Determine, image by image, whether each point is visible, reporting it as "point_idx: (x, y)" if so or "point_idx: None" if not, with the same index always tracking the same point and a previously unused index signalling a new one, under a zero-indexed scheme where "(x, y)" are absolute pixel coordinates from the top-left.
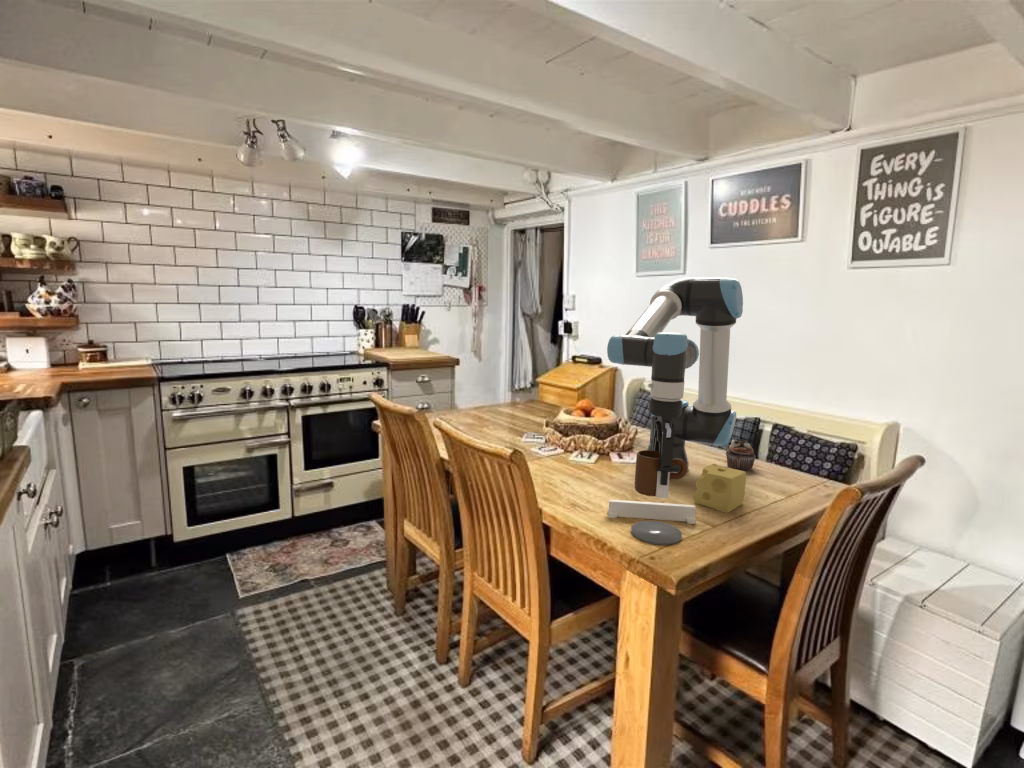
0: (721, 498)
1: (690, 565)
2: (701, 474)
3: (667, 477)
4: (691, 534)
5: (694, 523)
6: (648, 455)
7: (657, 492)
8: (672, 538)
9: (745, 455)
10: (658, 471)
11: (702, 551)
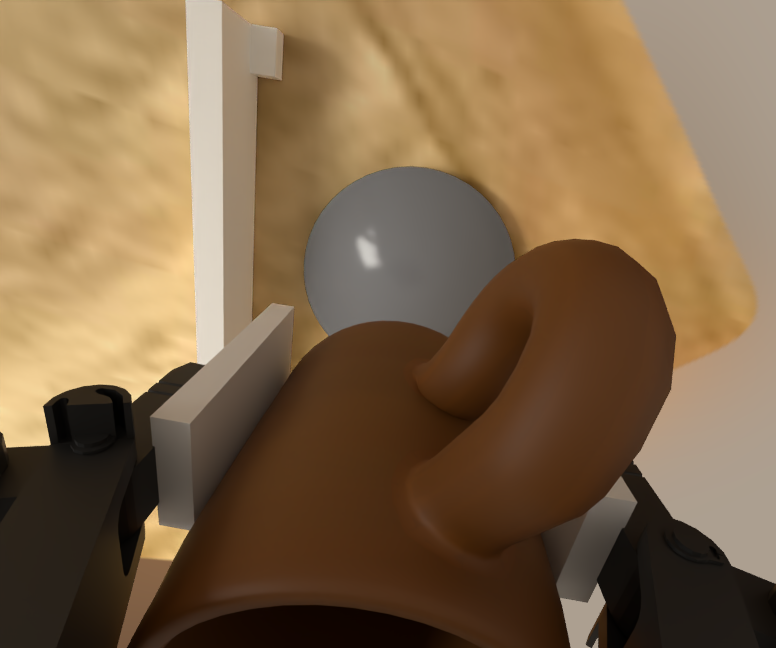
0: None
1: (702, 228)
2: None
3: (652, 493)
4: (410, 107)
5: (282, 37)
6: (181, 641)
7: None
8: (485, 233)
9: None
10: (583, 588)
11: (590, 121)
